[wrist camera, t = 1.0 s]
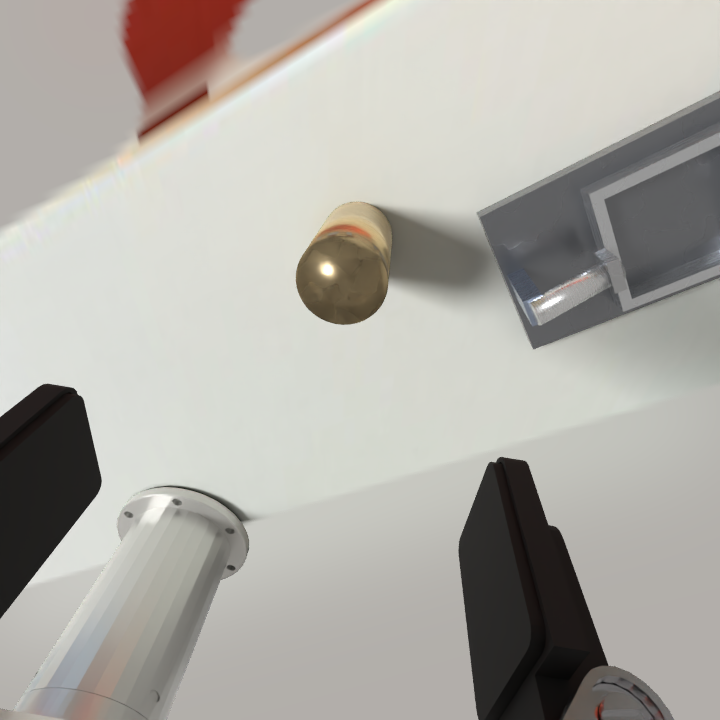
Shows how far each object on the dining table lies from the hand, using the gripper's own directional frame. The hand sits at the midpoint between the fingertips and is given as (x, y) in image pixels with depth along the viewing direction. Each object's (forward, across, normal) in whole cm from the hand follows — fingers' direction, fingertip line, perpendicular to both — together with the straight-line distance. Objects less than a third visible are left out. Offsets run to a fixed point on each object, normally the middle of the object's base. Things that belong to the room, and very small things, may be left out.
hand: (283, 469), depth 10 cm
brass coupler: (+20, 0, 0) cm, 21 cm away
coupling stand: (+21, -17, -4) cm, 27 cm away
